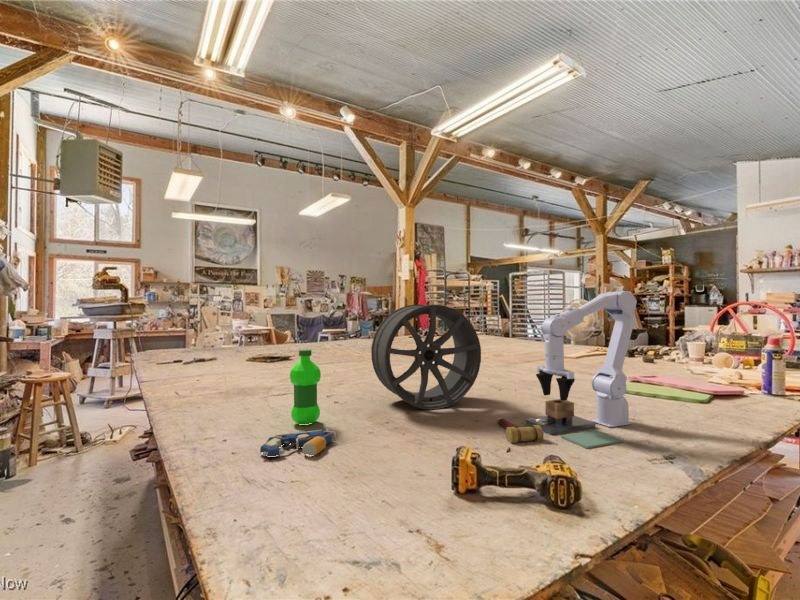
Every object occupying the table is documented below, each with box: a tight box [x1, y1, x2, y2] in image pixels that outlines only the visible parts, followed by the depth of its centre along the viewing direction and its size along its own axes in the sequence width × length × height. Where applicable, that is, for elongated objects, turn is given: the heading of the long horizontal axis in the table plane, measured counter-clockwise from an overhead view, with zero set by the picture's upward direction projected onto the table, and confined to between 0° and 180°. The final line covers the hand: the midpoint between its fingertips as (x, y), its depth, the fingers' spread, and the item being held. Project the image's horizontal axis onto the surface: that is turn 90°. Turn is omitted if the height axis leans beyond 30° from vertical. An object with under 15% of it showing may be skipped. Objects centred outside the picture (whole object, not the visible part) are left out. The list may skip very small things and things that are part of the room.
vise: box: [524, 415, 597, 436], centre depth 133 cm, size 18×12×7 cm, turn 111°
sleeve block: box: [545, 398, 575, 419], centre depth 133 cm, size 7×5×4 cm
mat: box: [560, 429, 625, 450], centre depth 119 cm, size 14×10×1 cm
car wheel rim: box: [370, 304, 482, 411], centre depth 163 cm, size 40×20×40 cm, turn 109°
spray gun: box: [259, 427, 337, 457], centre depth 114 cm, size 21×4×15 cm
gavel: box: [496, 418, 545, 444], centre depth 127 cm, size 21×5×10 cm
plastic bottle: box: [289, 348, 322, 425], centre depth 138 cm, size 10×10×25 cm
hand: (555, 397), depth 131 cm, fingers open, 7 cm apart
